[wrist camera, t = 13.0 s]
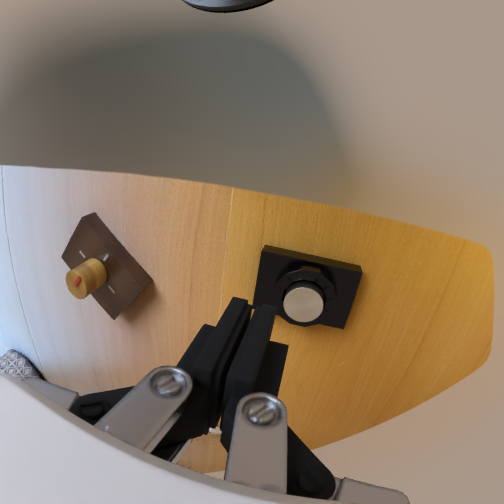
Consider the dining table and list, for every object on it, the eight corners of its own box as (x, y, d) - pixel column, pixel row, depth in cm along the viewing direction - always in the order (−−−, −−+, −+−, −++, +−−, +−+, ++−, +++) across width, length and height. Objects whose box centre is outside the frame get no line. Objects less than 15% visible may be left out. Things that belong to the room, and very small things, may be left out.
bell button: (282, 309, 35) (280, 317, 33) (289, 276, 33) (287, 283, 32) (318, 317, 34) (317, 325, 33) (327, 285, 32) (327, 292, 31)
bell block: (255, 300, 39) (248, 316, 36) (265, 244, 36) (258, 256, 33) (343, 320, 37) (344, 337, 34) (360, 265, 34) (364, 279, 31)
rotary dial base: (72, 251, 45) (60, 257, 42) (94, 211, 41) (81, 217, 38) (123, 311, 46) (113, 321, 43) (152, 279, 42) (141, 288, 39)
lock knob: (100, 289, 42) (79, 305, 37) (83, 268, 41) (60, 282, 36) (111, 274, 40) (89, 290, 35) (93, 252, 40) (69, 265, 35)
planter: (40, 362, 64) (5, 394, 49) (57, 402, 71) (29, 433, 56) (6, 336, 67) (-27, 361, 51) (22, 376, 74) (-5, 401, 59)
